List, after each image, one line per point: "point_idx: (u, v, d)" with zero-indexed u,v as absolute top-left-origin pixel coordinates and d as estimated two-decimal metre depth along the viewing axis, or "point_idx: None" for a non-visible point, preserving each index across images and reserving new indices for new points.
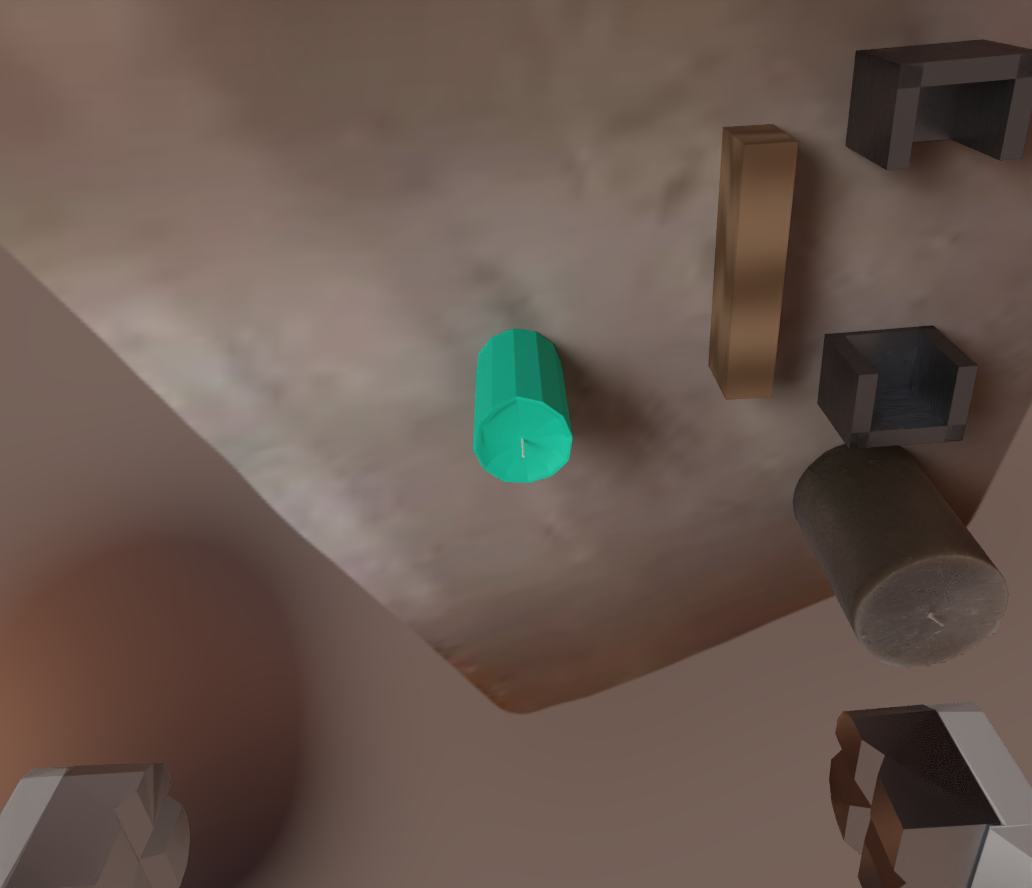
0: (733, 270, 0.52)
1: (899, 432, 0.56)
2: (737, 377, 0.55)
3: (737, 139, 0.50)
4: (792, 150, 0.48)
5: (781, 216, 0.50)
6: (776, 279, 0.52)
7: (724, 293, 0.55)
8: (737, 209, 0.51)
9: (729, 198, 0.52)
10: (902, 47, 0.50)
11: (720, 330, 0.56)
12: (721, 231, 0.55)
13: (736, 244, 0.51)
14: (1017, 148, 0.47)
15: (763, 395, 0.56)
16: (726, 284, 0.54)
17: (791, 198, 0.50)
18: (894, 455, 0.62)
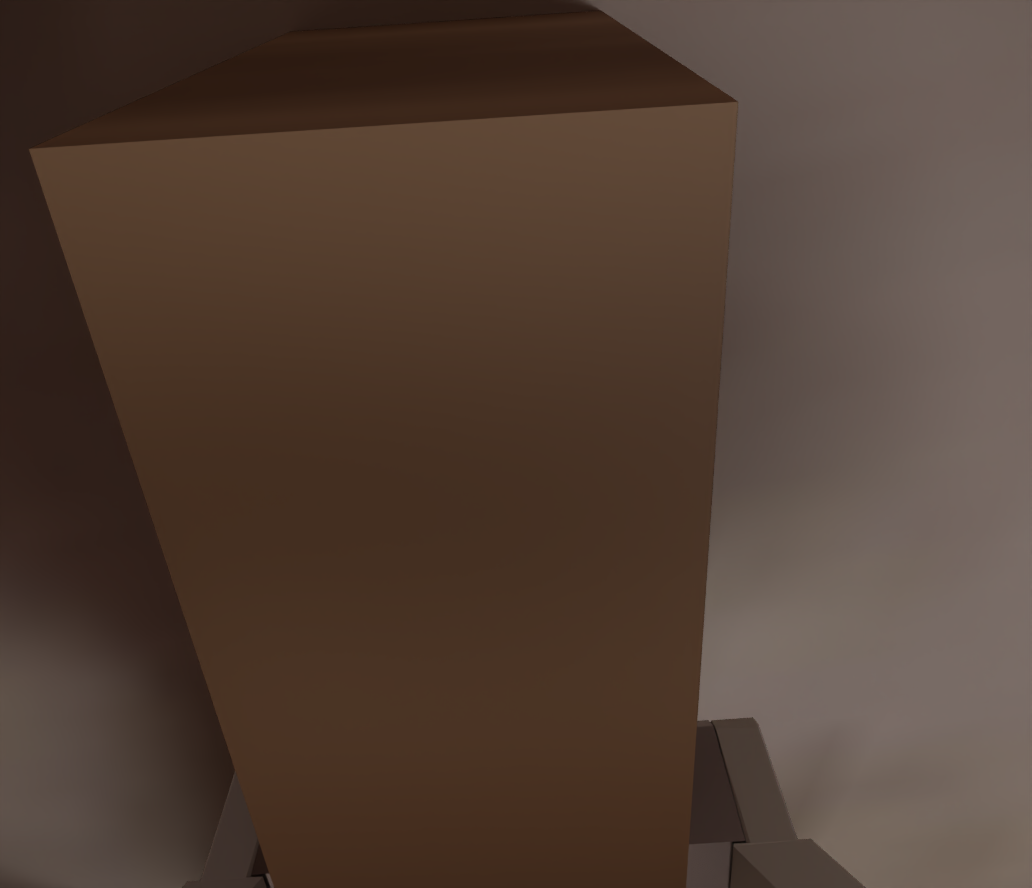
0: None
1: None
2: (589, 435, 0.04)
3: None
4: None
5: None
6: None
7: None
8: None
9: None
10: None
11: None
12: None
13: None
14: None
15: (168, 174, 0.04)
16: None
17: None
18: None
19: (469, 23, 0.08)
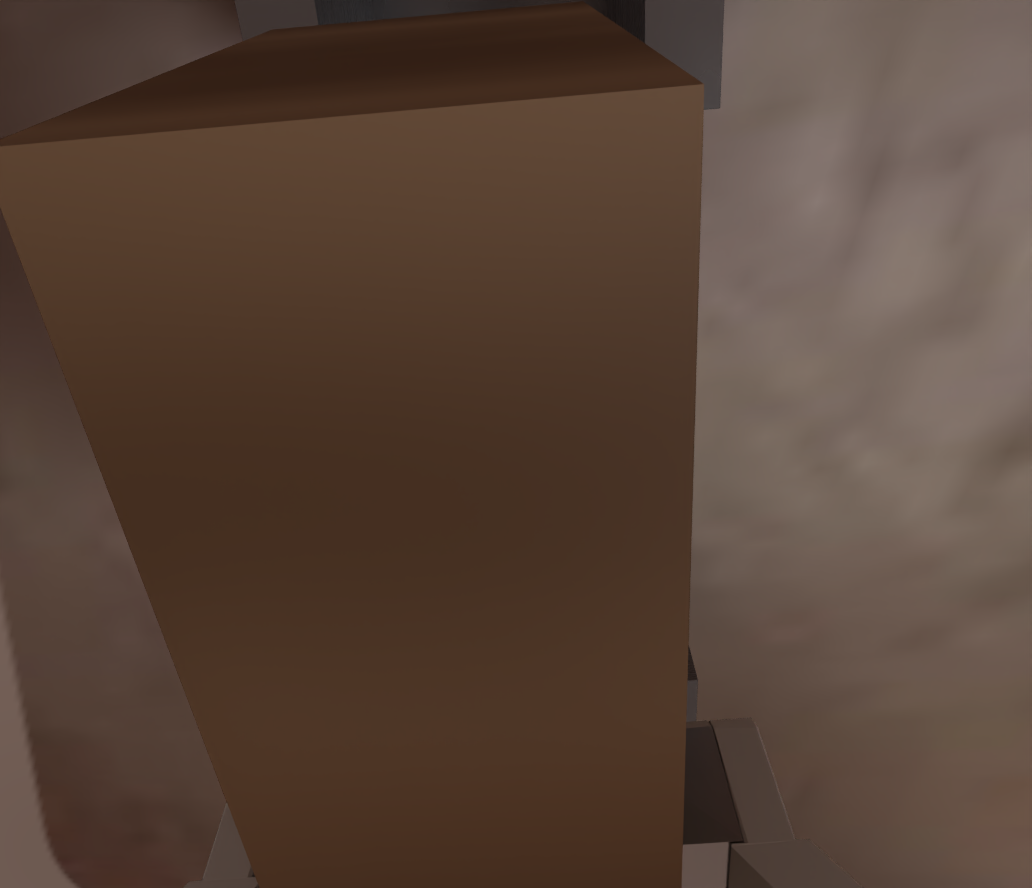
0: None
1: None
2: (564, 431, 0.04)
3: None
4: None
5: None
6: None
7: None
8: None
9: None
10: None
11: None
12: None
13: None
14: None
15: (122, 171, 0.04)
16: None
17: None
18: None
19: (450, 17, 0.08)
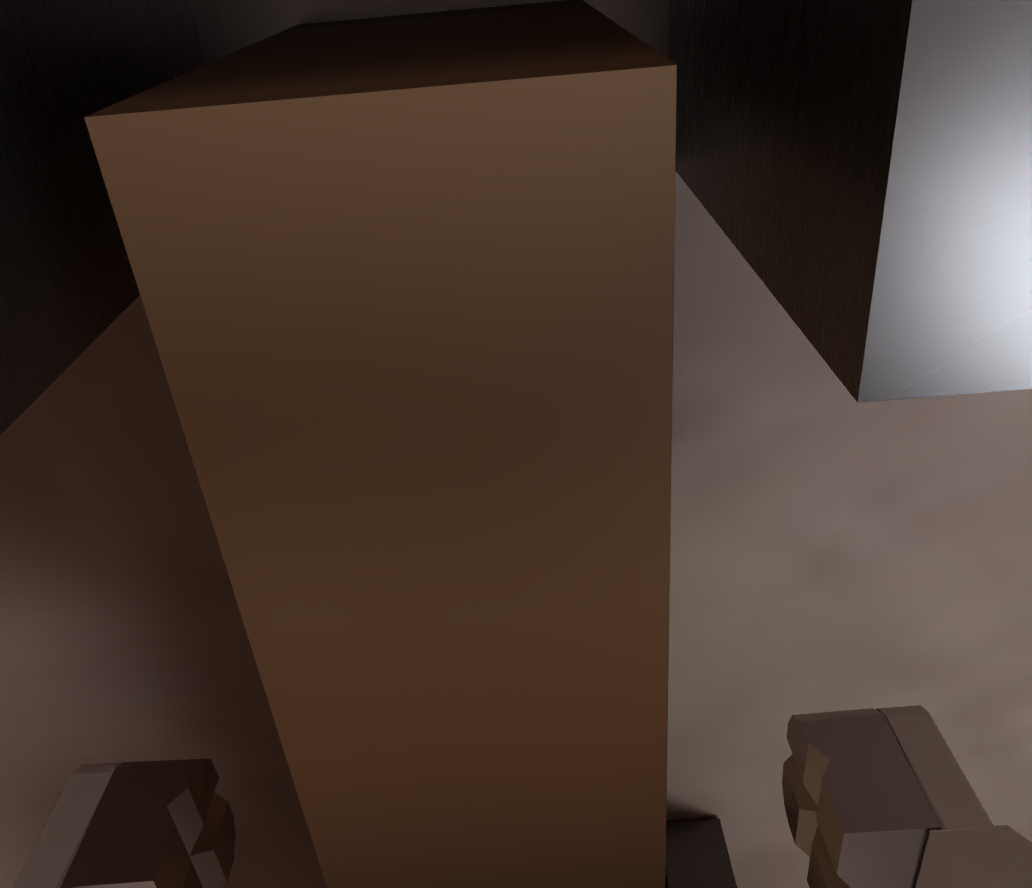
0: None
1: None
2: (562, 360, 0.05)
3: None
4: None
5: None
6: None
7: None
8: None
9: None
10: None
11: None
12: None
13: None
14: None
15: (200, 137, 0.04)
16: None
17: None
18: None
19: (460, 13, 0.09)
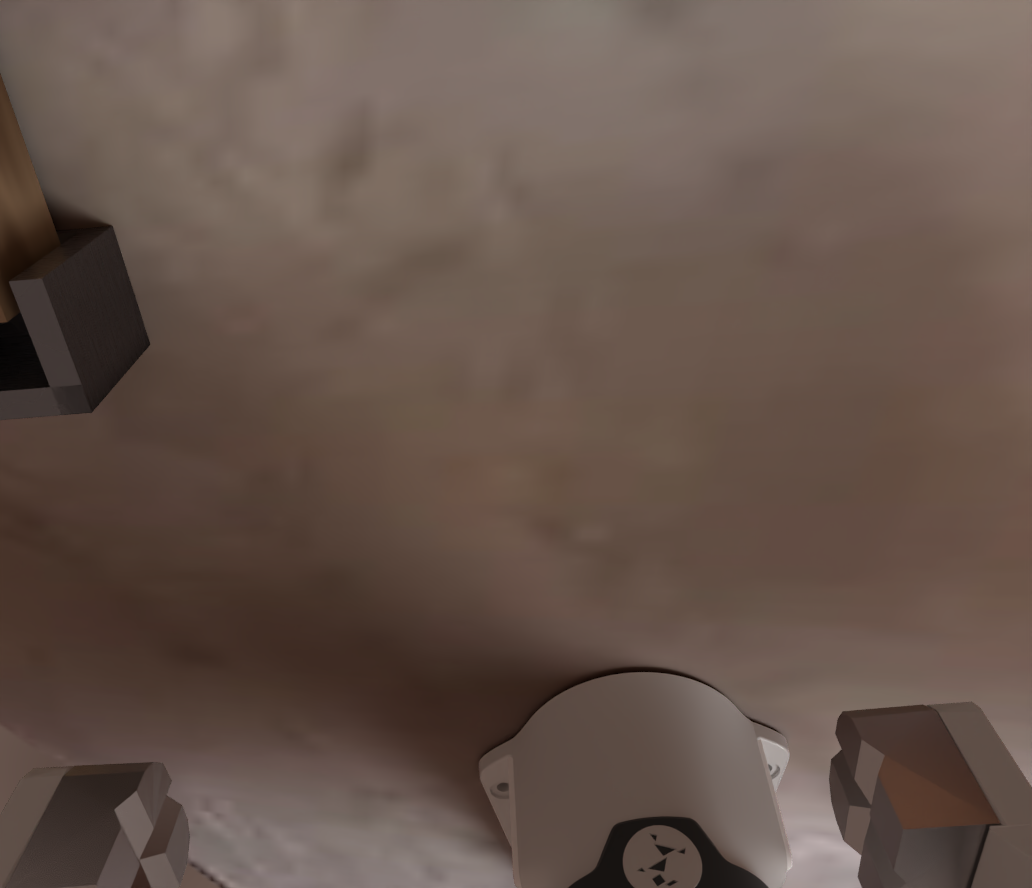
0: None
1: None
2: None
3: None
4: None
5: None
6: None
7: None
8: None
9: (4, 205, 0.32)
10: None
11: None
12: None
13: None
14: None
15: None
16: None
17: None
18: None
19: None
